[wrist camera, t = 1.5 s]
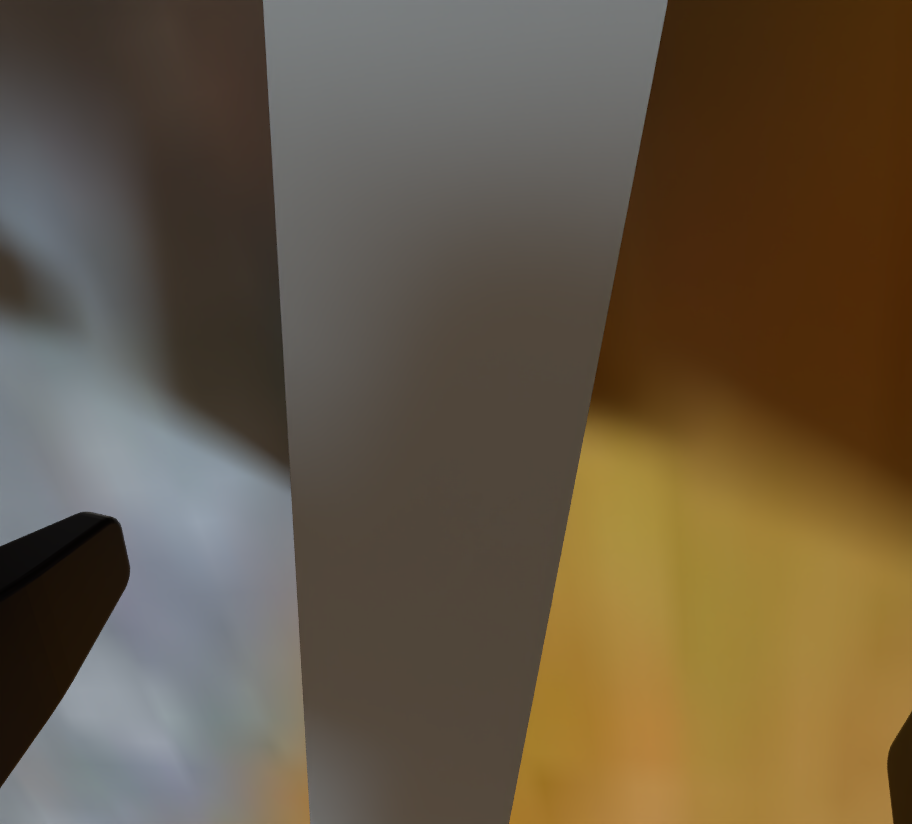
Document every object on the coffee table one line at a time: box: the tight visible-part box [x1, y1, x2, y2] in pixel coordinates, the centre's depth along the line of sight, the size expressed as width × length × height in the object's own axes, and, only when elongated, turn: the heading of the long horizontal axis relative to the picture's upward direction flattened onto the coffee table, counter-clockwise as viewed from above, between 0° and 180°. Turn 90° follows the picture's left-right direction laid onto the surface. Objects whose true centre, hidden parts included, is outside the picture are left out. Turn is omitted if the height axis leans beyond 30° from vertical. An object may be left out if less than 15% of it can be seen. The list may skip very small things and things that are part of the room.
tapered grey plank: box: [263, 0, 668, 824], centre depth 7 cm, size 2×12×6 cm, turn 176°
